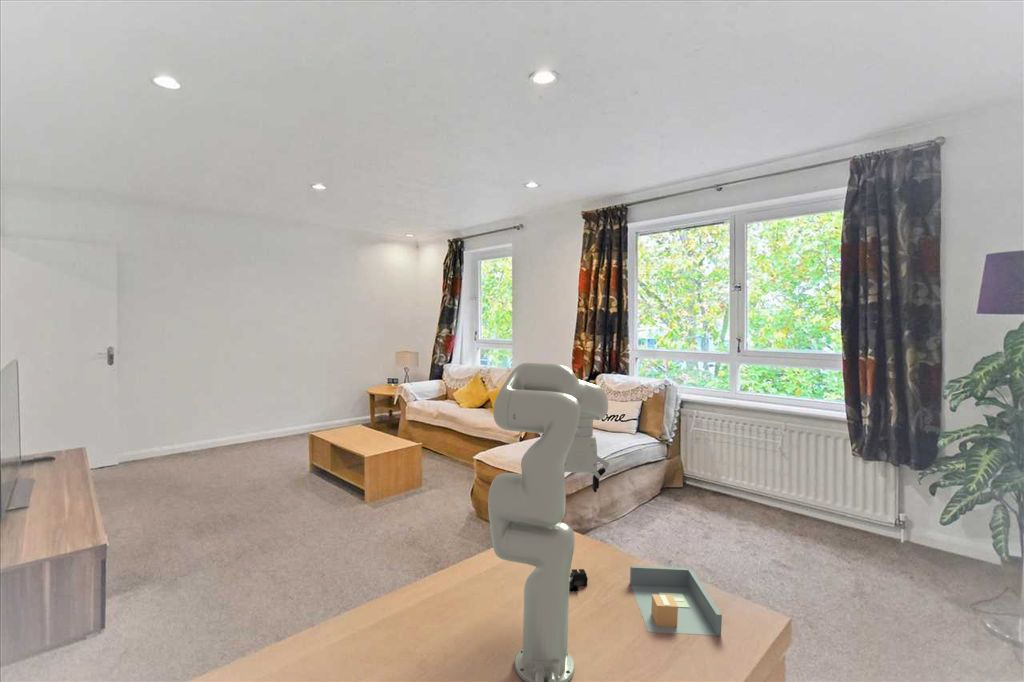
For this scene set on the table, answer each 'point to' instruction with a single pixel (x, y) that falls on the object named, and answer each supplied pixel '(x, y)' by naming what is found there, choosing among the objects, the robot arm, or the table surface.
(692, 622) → the grey blue tray
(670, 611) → the cube
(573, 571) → the black hollow angular block
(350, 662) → the table surface
